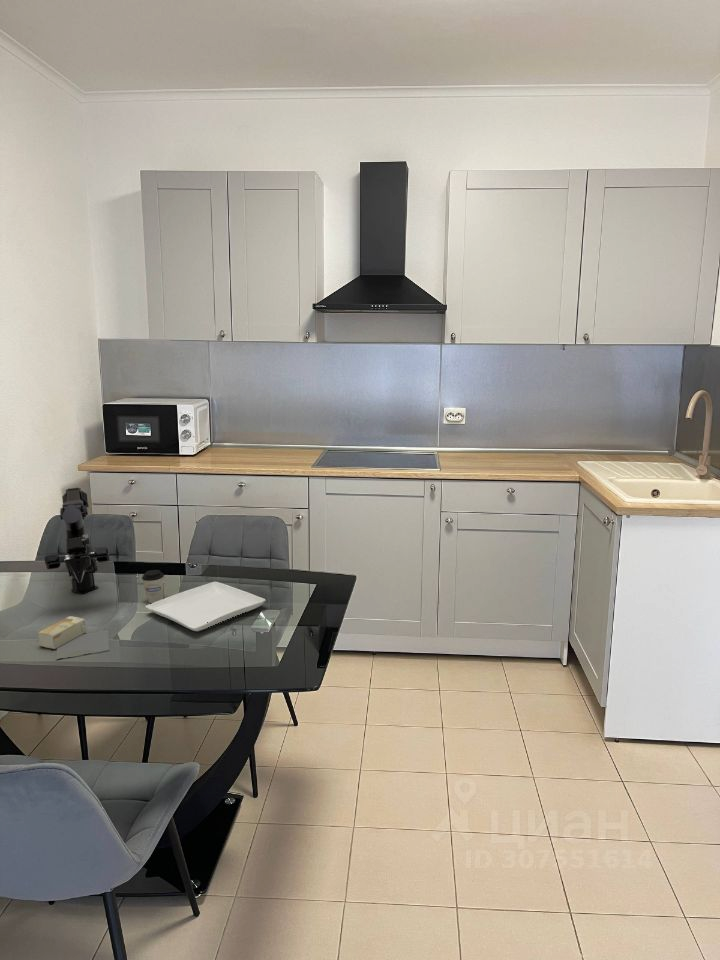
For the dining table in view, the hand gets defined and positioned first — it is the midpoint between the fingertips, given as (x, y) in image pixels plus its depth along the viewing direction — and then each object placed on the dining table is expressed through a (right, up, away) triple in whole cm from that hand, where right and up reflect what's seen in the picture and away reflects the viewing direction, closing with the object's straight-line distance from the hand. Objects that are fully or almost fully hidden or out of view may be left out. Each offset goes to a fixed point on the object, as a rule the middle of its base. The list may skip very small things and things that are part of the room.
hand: (79, 582), depth 228 cm
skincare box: (+3, -11, -9) cm, 15 cm away
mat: (+8, -15, -18) cm, 25 cm away
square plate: (+39, -10, +2) cm, 40 cm away
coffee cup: (+20, -8, +11) cm, 25 cm away
